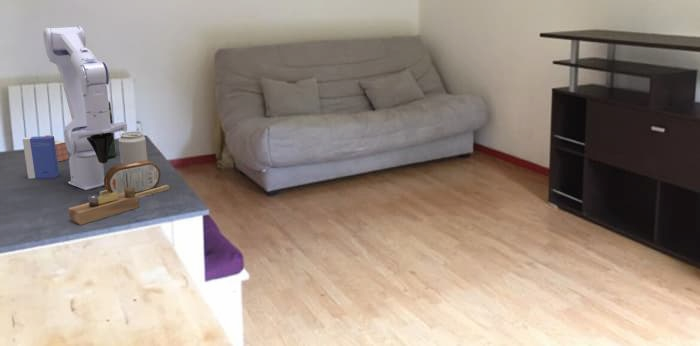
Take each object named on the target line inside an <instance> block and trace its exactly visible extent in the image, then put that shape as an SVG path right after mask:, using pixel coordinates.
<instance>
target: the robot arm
mask: <svg viewBox="0 0 700 346" xmlns="http://www.w3.org/2000/svg"><path fill="white" fill-rule="evenodd" d="M42 35H43V36H42V37H43V44H44V48H45V51H46V56H47V57H48V61H49V62H50V63H53V64H56V67H57V70H58V72H59V75H60V79H61V84H62V87H63V91H64V93H65V98H66V101H67V102H66V103H67V107H68V109H69V113H70V118H71V121H70V122H69V123H68V124H66V126H65V128H64V132H63V133H64V138H65V141H64V142H66V147H67V150H68V154H70V156H69V159H68V165H69V166H68V167H69V173H70V181H68V182H67V183H68V184H69V185H71V186H74V187H77V188H79V189H82V190H84V191H89V190H92V189H95V188H96V189H97V188H100V187H103V186H104V177H105V170H104V164H108V160H109V158H108V155H109V150H110V147H111V144H112V142H113V140H114V141H115V134H114V135H112V134H111V133H113V132H114V133H117V132H128V124H127V123H126V122H124V121H123V122H114V123H113V124H111V122H110V112H109V102H110V101H109V95H108V86H107V85H109V83H110V72H109V68H108V65H107V63H106V62H105V61H99V60H98V58H96V55H94V53H93V52H92V51H91V49H89V48H87V47H86V44H87V40H86V39H87V37H86V33H85V31H84V28H83V27H82V26H80V25H77V26H68V27H51V28H49V27H45V29H44V30H43V34H42ZM108 101H109V102H108ZM104 187H105V186H104Z"/></svg>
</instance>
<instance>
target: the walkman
mask: <svg viewBox="0 0 700 346" xmlns="http://www.w3.org/2000/svg"><path fill="white" fill-rule="evenodd" d="M55 140H56V139H55V136H54V135H50V134H46V135H45V136H39V135H38V136H25V137H23V138H22V146H23V151H24V152H23V153H24V159H25V164H26V165H25V166H26V172H27V173H26V174H27V178H28V180H29V179H54V178H57V177H59V175H60V171H59V162H57V155H56V147H55Z"/></svg>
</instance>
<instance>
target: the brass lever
mask: <svg viewBox="0 0 700 346" xmlns="http://www.w3.org/2000/svg"><path fill="white" fill-rule="evenodd" d="M87 199H88V203H89V206H98V205H99V204H103V203H107V202H110V201H114V200H118V194H117V193H116V192H113V193H109V194H105V195H101V196H100V195H99V196H98V194H91V195H88V197H87Z"/></svg>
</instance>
